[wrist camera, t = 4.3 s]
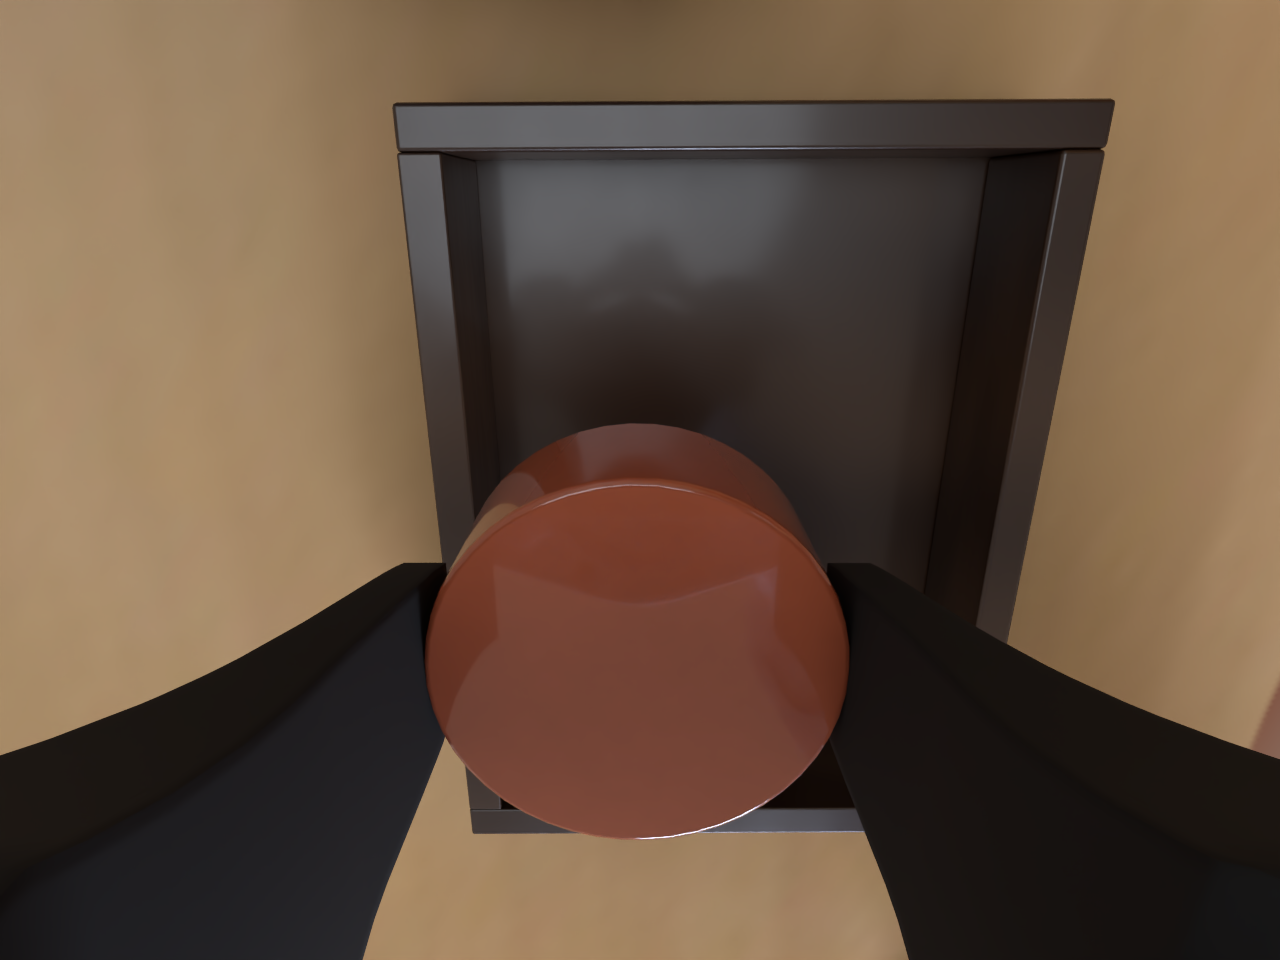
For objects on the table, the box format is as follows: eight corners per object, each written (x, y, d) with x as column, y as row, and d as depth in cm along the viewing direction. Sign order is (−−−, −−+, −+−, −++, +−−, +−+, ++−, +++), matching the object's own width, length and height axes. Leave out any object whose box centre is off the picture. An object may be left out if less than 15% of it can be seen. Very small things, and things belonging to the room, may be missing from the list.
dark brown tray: (922, 740, 22) (970, 832, 19) (496, 742, 22) (472, 834, 19) (1023, 117, 16) (1118, 97, 13) (439, 120, 16) (390, 101, 13)
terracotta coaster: (879, 607, 12) (935, 701, 10) (619, 781, 13) (614, 901, 11) (661, 344, 10) (667, 383, 8) (391, 569, 12) (331, 657, 9)
